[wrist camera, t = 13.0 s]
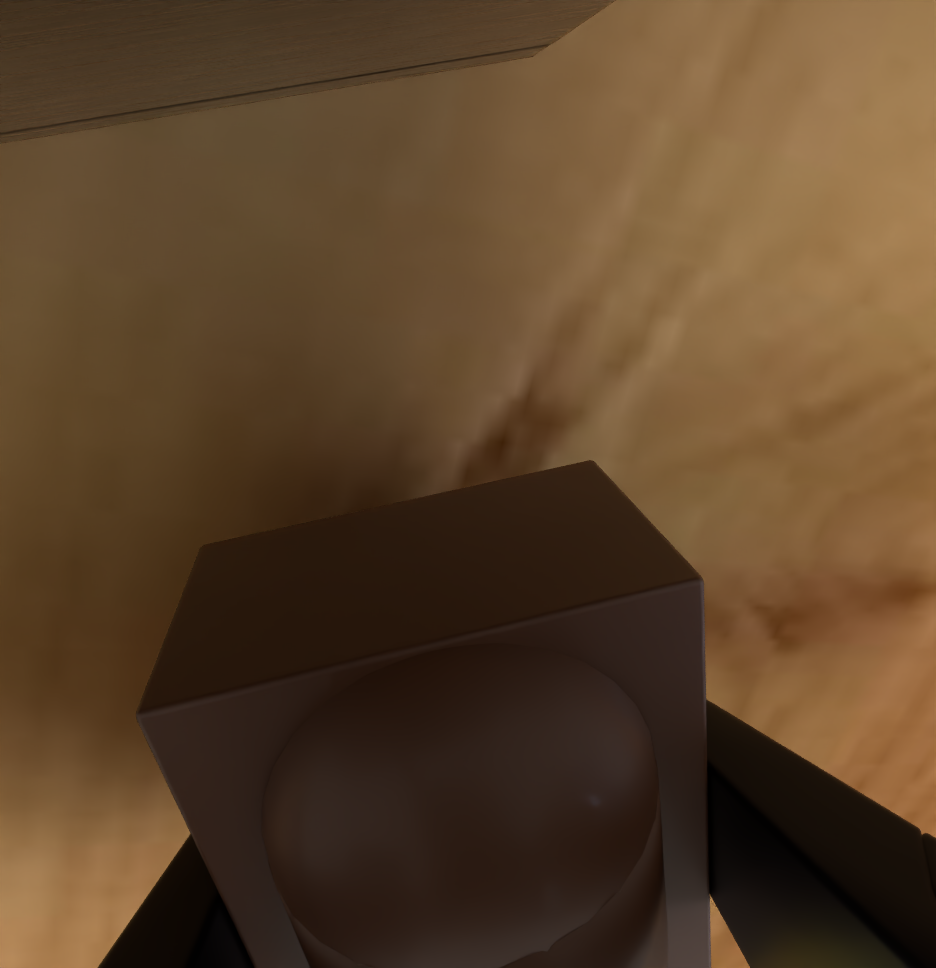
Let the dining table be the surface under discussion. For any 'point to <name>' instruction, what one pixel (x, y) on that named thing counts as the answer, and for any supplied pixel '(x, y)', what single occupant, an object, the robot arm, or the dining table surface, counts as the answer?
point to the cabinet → (241, 51)
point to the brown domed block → (447, 733)
